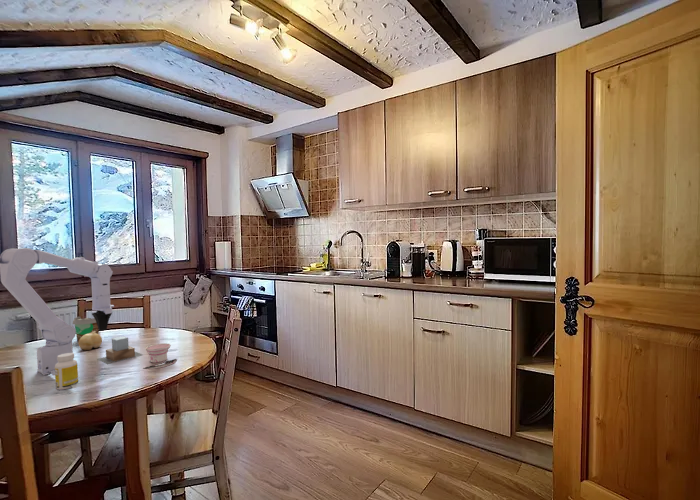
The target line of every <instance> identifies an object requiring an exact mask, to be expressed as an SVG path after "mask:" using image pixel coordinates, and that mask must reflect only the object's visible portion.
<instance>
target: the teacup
mask: <svg viewBox="0 0 700 500" xmlns="http://www.w3.org/2000/svg"><path fill="white" fill-rule="evenodd" d="M170 348H171V343H167V342H166V343H156V344H151V345H147V346H146V347H145V351H146V354H147V355H148V356H149V362H151V363H153V364H154V363H156V364H155V365H150V366H146V367H143V368H142V369H144V370H152V369H153V370H154V369H161V368H164V367H165V368H166V367H168V366H171V365H173V364H176V362H177V358H173V359H170V360H167V359H168V352H169V349H170ZM166 360H167V361H166Z"/></svg>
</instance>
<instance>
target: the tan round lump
mask: <svg viewBox="0 0 700 500" xmlns="http://www.w3.org/2000/svg"><path fill="white" fill-rule="evenodd" d="M102 341H103V339H102V336H101V335H100V334H99V333H98V334H97V333H96V332H95V331H94V332H93V331H92V332H91V333H89V334H85V335H83V336H82V337H81V338H80V339H79V341H77V342H78V343H77V344H78V346H79V348H80V349H81V350H83V351H91V350H92V349H93V348H94V349H97V348H99V347H100V346H101V344H102Z"/></svg>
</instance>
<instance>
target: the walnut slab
mask: <svg viewBox="0 0 700 500" xmlns="http://www.w3.org/2000/svg"><path fill="white" fill-rule="evenodd" d="M135 352H136V348H135V347H134V346H130V345H129V348H128V349H124V350H120V351H115V350H113V349H112V348H107V349H105V357H106V358H108V359H110V360H112V361H117V360H121V359H125V358H129V357H133V356H135Z"/></svg>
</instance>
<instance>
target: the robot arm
mask: <svg viewBox="0 0 700 500" xmlns="http://www.w3.org/2000/svg"><path fill="white" fill-rule="evenodd" d="M39 264H48V265H53V266H58V267H61V268H65V269H67V270H68V272H69V273H72V274H76V275H80V276H85V277H88V278H90V279H91V280H90V281H91V283H90V284H91V300H92V305H91V309H92V310H91V311H96V312H92V313H91V316H92V317H93V318H95V320H96V323H97V326H98V332H103V331H107V330H108V325H109V320H110V318H111V317H112V315H113V308H115V305H114V304H111V287H110V286H111V284H110V282H111V278H112V275H113V273H114V271H113V270H112V268H111V267H110V266H109V265H108V264H105V263H103V264H102V263H99V261H95V260H93V261H91V260H88V259H86V257H83V256H79V257H76V256H75V257H74V258H67V257H64V256H62V255H58V254H54V253H52V252H49V251H48V252H47V251H44V250H39V249H33V248H28V247H22V248H13V247H12V248H7V249H5V250H3V251H2V252H1V254H0V282H1V284H2V286H3V287H4V288H5V289H6V290H7V291H8V292H9V293H10V294H11V296H13V298H15V300H16V301H17V302H18V303H19V304H20V305H21V307H22V308H24V310H25V311H26V312H27V313H28V314H29V315H30V316H31V317H32V319H33V320H35V322H36V323H37V324H38V325H37V328H38V330H40V333H41V337H42V339H44V341H45V345H43V346H38V348H36V349H37V350H36V361H37V362H36V363H37V369H36V371H37V372H39V373H40V374H41V375H43V376H47V375H50V374H52V372H51V371H55V365H56V364H57V363H58V362H59V361H58V360H57V356H58V355H61V354H65V353H74V351H73V340H74V339H75V337H76V329H75V326H73V325H71V324H69V323H66V321H65V320H63V319H62V318H61V317H59V316H57V315H56V313H55V312H54V311H53V310H52V308H50V307H49V306H48V304H47V303H46V301H44V299H43V298H42V297H41V296H40V295H39V294H38V293H37V292H36V291H35V289H34V288H33V287H32V286H31V284H30V283H29V282H28V281H27V276H28V275H29V272H30V271H31V270H32V269H33V268H34V266H35V265H39Z"/></svg>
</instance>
